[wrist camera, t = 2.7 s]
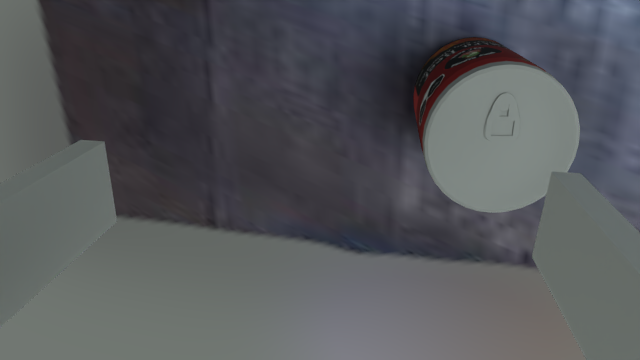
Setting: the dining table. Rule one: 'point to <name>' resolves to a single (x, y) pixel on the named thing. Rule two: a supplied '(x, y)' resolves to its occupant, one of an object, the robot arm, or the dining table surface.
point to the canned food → (492, 125)
